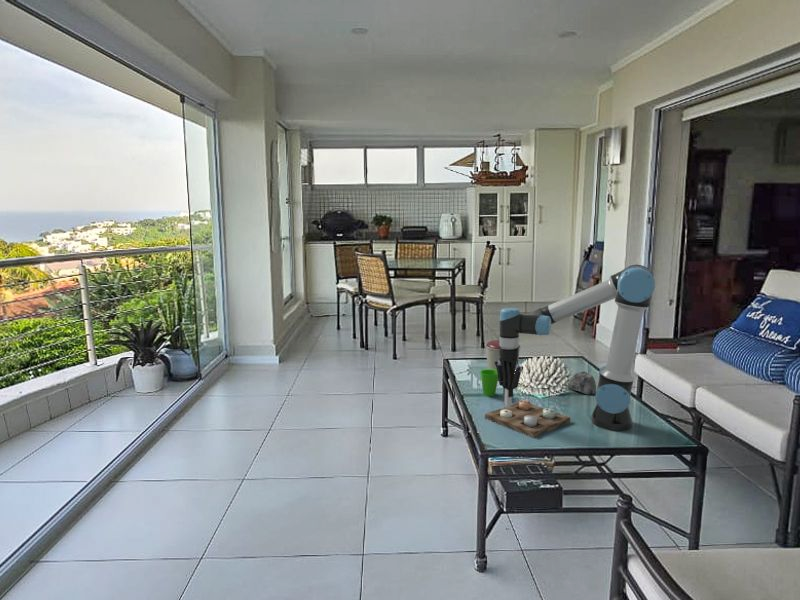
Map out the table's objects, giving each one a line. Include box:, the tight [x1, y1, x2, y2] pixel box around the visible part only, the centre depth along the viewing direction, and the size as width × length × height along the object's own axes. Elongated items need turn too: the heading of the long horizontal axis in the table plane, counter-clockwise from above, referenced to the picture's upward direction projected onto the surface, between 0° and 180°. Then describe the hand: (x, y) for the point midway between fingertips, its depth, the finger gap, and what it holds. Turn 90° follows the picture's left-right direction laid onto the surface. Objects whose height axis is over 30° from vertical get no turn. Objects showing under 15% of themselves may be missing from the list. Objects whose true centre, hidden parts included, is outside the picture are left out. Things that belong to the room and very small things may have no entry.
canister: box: [484, 339, 522, 373], centre depth 275 cm, size 18×18×21 cm
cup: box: [479, 368, 499, 397], centre depth 249 cm, size 9×9×11 cm
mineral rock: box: [567, 370, 597, 396], centre depth 256 cm, size 13×11×10 cm
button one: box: [500, 410, 512, 419], centre depth 221 cm, size 5×5×3 cm
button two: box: [543, 407, 556, 421], centre depth 219 cm, size 5×5×3 cm
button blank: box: [524, 415, 537, 428], centre depth 211 cm, size 5×5×3 cm
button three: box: [518, 399, 532, 412], centre depth 228 cm, size 5×5×3 cm
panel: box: [484, 401, 571, 438], centre depth 220 cm, size 24×24×2 cm
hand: (508, 403), depth 220 cm, fingers closed
